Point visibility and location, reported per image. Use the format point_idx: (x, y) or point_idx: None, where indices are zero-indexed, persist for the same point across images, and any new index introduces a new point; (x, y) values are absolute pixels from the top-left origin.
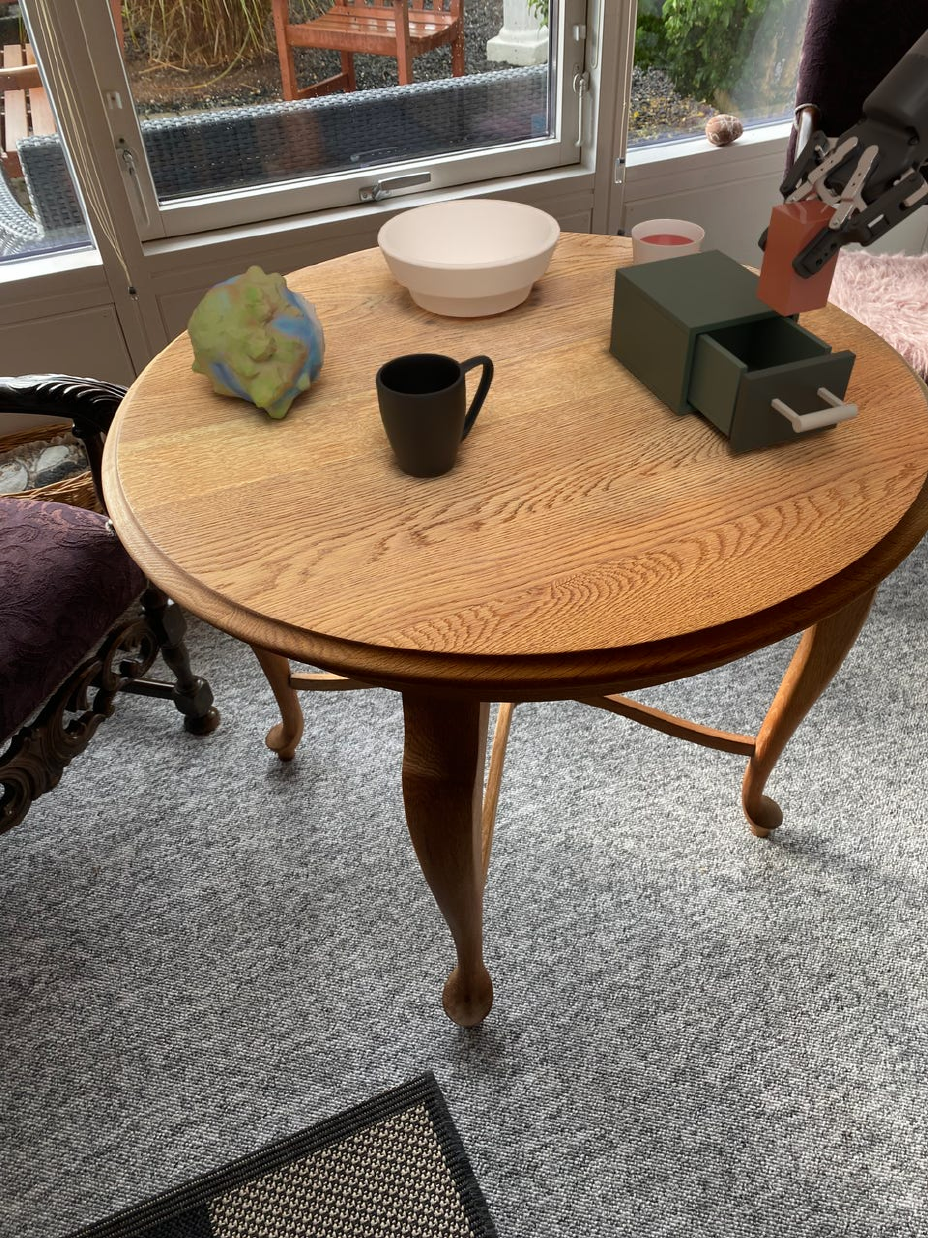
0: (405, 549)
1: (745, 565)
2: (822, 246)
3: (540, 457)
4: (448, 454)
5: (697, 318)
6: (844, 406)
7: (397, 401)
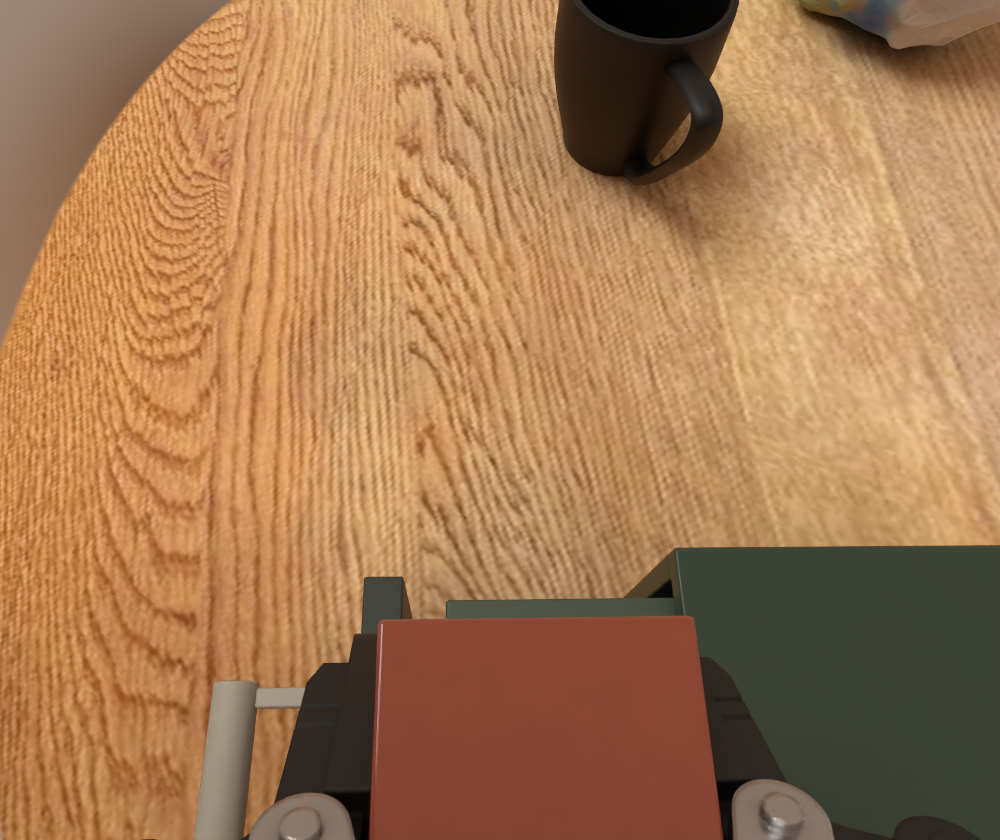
0: (401, 58)
1: (82, 458)
2: (304, 742)
3: (558, 292)
4: (564, 121)
5: (730, 601)
6: None
7: None
